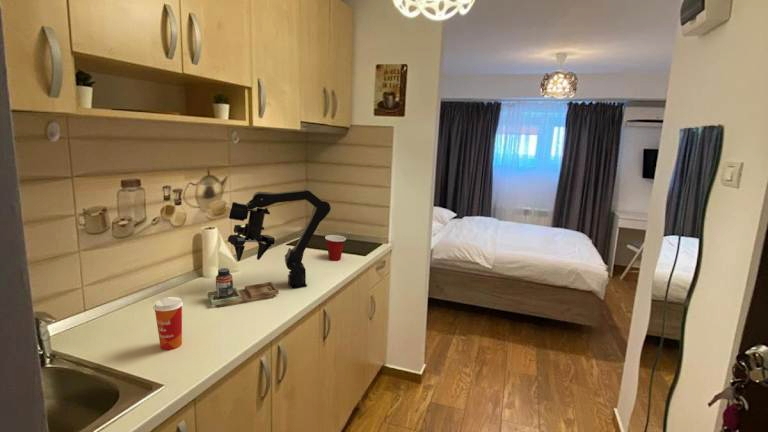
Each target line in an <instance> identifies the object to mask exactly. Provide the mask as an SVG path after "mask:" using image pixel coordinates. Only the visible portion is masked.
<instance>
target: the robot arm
mask: <svg viewBox="0 0 768 432" xmlns="http://www.w3.org/2000/svg"><path fill="white" fill-rule="evenodd" d="M294 201H307V202H308V203H310V204H311V205H312V206H313V207H312V211H311V215H310V218H309V220H308V222H307V223H306V226H305V228H304V230H303V232H301V235H300V237H299V239H298V240H297V243H296V244H295V246H294V247H293V248H290V247H288V250H287V252H286V254H285V255H284V263H285V265H286V268H287V269H288V270H289V271H288V275H287V285H288V286H289V287H290V288H292V289H299V288H304V287H307V286H308V285H307V283H306V279H307V278H306V277H307V275H306V268H305V265H304V263H303V262H302V261H303V258H304V254H305V253H304V252H305V251H306V248H307V247H308V245H309V243H310V242H311V240H312V237H313V235H314V234H315V232H316V230H317V228H318V227H319V225H320V223H321V222H322V221H323V220H324V219H325V218H326V217H327V216H328V214H330V212H331V210H332V208H331V205H330V203H329V202H328V201H327V200H325V199H323V198H319V197H318V196H316V195H315V194H314V193H313V192H312V191H311V190H310V189H307V188H304V189H302V190H301V189H300V190H290V191H281V192H270V191H257V192H254V194H253V196H252V198H251V200H249V201H248V202H247V203H246V204H245V203H239V202H235V201H233V202H232V203H231V208H230V209H229V217H228V219H229V220H234V221H240V222H244V221H245V220H247V219H248V220H247V221H248V222H246V223H245V224H244V226H242V225H241V224H234V227H233V233H234V234H230V235H229V236H227V242H228V243H229V244H230V245H233V247H234V250H235V255H236V259H237V262H240V261H241V259H242V256H243V253H244V250H245V248H246V247H245V244H246V243H257V244H258V249H257V255H256V260H257V261H259V260H260V259H261V258H262V257H263V255H264V254H265V253H266V252H267V250H269V248H270V247H272V246H273V245H275V242H276V240H275V237H273V236H271V235H269V234H262V231H264V230H265V226H264V221H265V220H264V219H265V215H270V214H271V212H270V211H269V210H268V207H270V206H272V205H274V204H278V203H286V202H294ZM248 215H249V217H248Z"/></svg>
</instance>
